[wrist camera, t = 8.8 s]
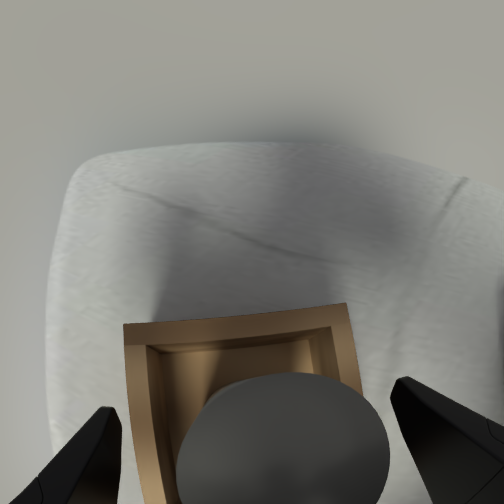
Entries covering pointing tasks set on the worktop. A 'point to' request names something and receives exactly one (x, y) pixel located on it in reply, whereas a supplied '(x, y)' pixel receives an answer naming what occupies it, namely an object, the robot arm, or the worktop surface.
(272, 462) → the grey cylinder
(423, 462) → the robot arm
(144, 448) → the wooden box
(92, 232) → the worktop surface
